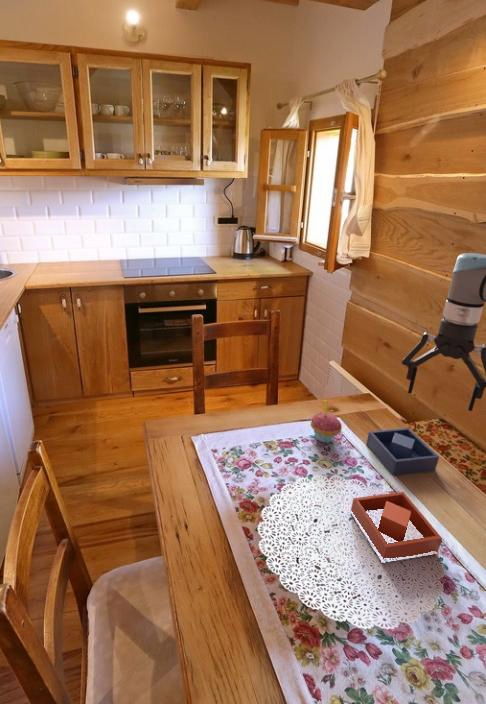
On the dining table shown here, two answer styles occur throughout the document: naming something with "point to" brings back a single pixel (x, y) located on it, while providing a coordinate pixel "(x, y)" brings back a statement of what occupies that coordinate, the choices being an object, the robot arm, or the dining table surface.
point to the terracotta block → (394, 521)
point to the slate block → (401, 446)
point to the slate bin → (417, 463)
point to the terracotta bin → (418, 520)
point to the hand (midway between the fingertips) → (439, 399)
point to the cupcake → (325, 425)
